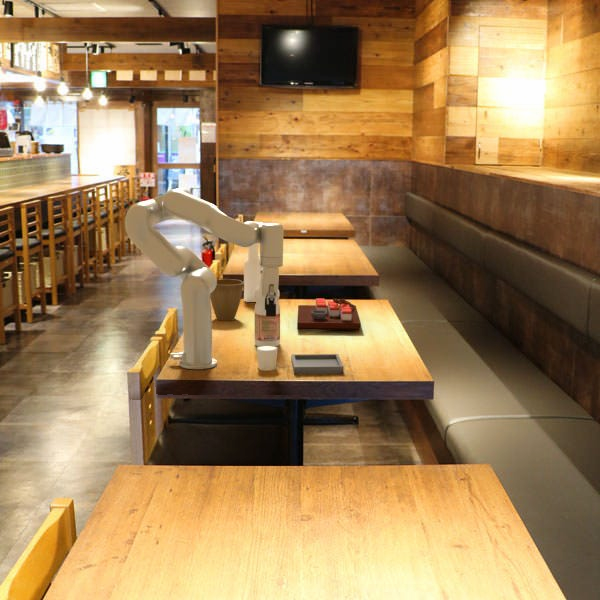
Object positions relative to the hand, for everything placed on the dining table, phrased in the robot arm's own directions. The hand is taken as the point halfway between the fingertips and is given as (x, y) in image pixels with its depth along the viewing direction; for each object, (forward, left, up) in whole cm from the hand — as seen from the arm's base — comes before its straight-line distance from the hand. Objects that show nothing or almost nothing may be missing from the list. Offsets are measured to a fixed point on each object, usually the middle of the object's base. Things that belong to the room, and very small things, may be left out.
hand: (270, 313), depth 273 cm
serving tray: (+16, 0, -19) cm, 24 cm away
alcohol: (-4, +115, -19) cm, 116 cm away
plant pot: (-16, +77, -19) cm, 80 cm away
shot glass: (-1, 0, -19) cm, 19 cm away
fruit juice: (0, +32, -19) cm, 37 cm away
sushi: (+26, +67, -19) cm, 74 cm away
